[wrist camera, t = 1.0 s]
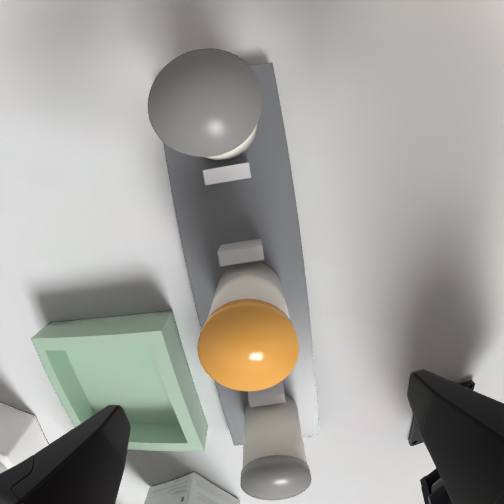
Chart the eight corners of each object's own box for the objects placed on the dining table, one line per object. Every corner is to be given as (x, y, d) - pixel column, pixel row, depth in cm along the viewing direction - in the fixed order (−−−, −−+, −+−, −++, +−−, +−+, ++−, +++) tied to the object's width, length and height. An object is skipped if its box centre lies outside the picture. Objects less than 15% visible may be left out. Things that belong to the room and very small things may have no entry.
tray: (207, 425, 24) (203, 450, 21) (97, 424, 24) (86, 445, 21) (172, 310, 21) (161, 330, 18) (50, 322, 22) (30, 338, 19)
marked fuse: (287, 317, 20) (302, 384, 13) (222, 327, 20) (209, 395, 13) (278, 254, 19) (293, 299, 12) (209, 264, 19) (187, 313, 12)
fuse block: (316, 425, 24) (333, 500, 16) (234, 435, 24) (230, 512, 16) (271, 68, 18) (282, 7, 10) (160, 89, 18) (108, 45, 10)
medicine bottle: (-7, 397, 25) (-60, 457, 13) (36, 414, 25) (-17, 488, 13) (13, 439, 26) (-28, 498, 15) (56, 456, 26) (17, 526, 15)
